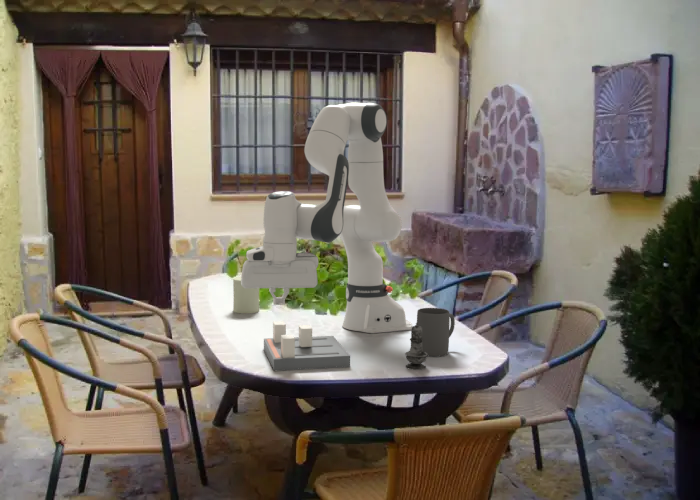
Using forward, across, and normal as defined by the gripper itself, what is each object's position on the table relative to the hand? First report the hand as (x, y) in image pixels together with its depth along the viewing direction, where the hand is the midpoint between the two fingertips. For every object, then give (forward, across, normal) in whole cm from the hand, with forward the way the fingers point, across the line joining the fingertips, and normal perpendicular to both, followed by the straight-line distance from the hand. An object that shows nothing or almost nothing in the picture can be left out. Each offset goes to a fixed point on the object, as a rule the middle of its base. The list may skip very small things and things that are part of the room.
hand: (279, 304), depth 201 cm
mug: (+15, -46, 0) cm, 48 cm away
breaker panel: (+15, -8, 0) cm, 17 cm away
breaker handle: (+11, -7, 0) cm, 14 cm away
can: (+15, +3, -64) cm, 66 cm away
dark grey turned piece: (+15, -34, +14) cm, 40 cm away
